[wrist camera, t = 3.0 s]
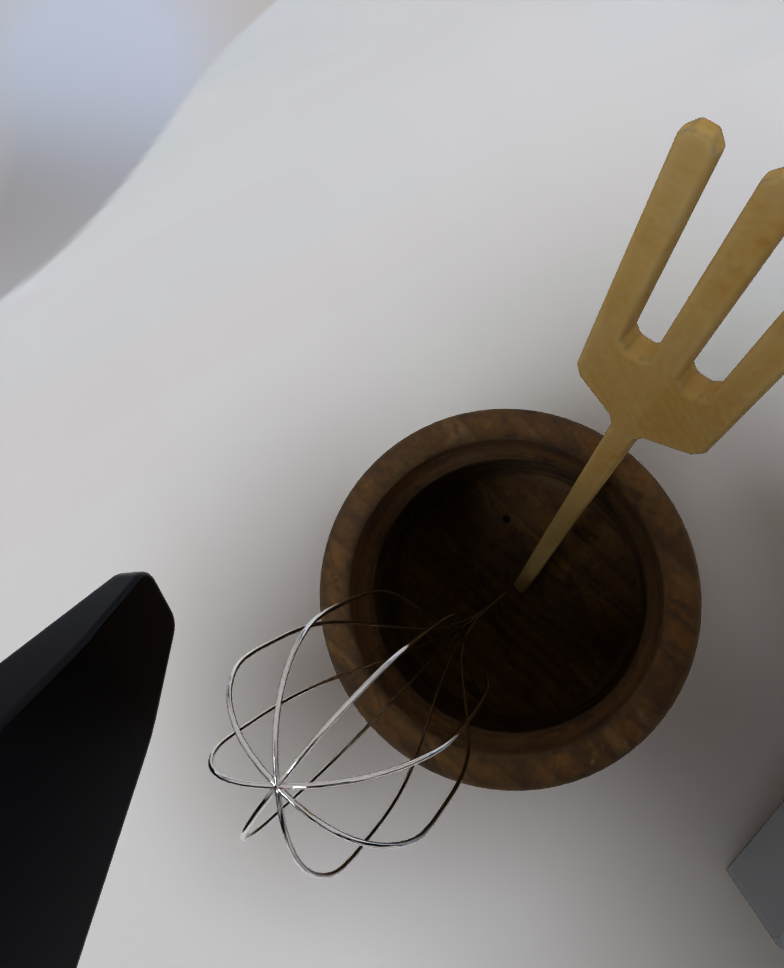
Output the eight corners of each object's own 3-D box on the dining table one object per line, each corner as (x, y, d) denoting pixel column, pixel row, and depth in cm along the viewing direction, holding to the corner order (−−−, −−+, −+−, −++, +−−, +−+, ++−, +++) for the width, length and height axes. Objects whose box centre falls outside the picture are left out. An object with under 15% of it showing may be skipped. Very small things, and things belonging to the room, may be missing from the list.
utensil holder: (340, 607, 17) (-128, 639, 5) (506, 406, 16) (428, -42, 5) (534, 787, 15) (520, 1444, 3) (719, 566, 15) (1348, 467, 3)
